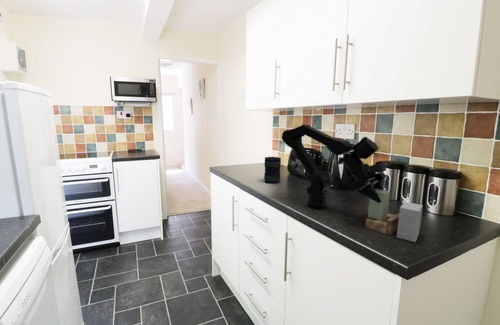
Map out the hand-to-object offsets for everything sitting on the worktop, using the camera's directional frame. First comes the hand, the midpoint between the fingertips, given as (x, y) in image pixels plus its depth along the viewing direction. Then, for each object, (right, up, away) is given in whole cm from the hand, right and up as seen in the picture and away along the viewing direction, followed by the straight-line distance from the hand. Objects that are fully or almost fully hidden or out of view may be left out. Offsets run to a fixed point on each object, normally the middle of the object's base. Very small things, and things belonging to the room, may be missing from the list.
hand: (383, 201), depth 94 cm
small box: (+5, -11, -7) cm, 14 cm away
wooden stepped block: (0, -9, +1) cm, 9 cm away
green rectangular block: (-1, -6, +2) cm, 7 cm away
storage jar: (-35, +2, +65) cm, 74 cm away
